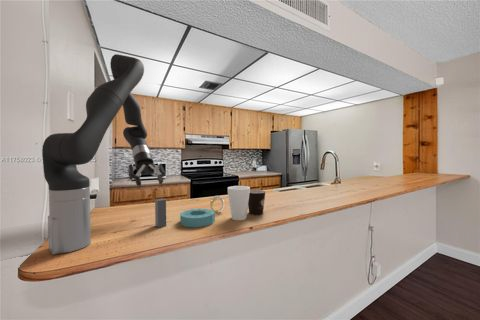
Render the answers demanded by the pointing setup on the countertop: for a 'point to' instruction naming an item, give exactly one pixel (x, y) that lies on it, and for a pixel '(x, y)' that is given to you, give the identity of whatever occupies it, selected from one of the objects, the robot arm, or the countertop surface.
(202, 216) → the teal ring
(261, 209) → the coffee mug
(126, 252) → the countertop surface
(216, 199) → the bracelet
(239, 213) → the foam cup
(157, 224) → the gray rectangular block
